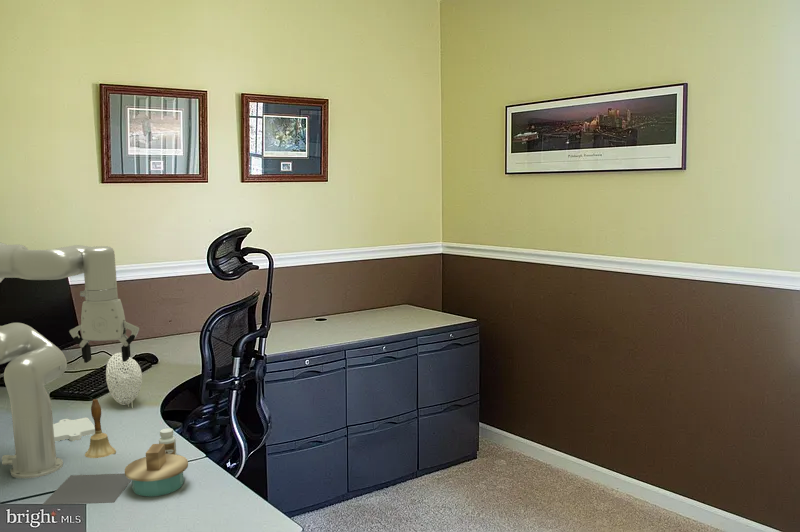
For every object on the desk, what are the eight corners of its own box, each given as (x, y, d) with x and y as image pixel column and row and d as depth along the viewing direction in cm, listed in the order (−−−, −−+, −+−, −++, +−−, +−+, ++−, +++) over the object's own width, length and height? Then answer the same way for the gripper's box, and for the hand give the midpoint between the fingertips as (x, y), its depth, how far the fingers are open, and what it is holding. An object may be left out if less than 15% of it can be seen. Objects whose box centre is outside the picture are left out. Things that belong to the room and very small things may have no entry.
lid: (116, 482, 179) (114, 461, 178) (135, 458, 194) (134, 438, 193) (179, 480, 180) (178, 458, 179) (194, 455, 195) (193, 436, 194)
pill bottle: (159, 461, 205) (157, 434, 204) (160, 455, 209) (158, 428, 208) (176, 459, 206) (174, 432, 205) (176, 453, 210) (175, 426, 209)
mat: (42, 506, 178) (41, 504, 178) (70, 477, 195) (70, 475, 195) (114, 504, 179) (114, 502, 179) (136, 474, 196) (136, 473, 196)
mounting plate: (99, 437, 225) (98, 430, 225) (52, 446, 218) (52, 440, 218) (85, 420, 240) (85, 415, 240) (41, 429, 233) (41, 423, 233)
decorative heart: (149, 408, 250) (146, 358, 248) (116, 415, 244) (112, 363, 242) (134, 395, 265) (131, 347, 262) (103, 401, 259) (99, 352, 256)
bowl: (126, 499, 182) (125, 479, 181) (141, 478, 193) (140, 460, 193) (176, 497, 182) (174, 477, 181) (188, 477, 194) (187, 458, 193)
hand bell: (105, 460, 206) (100, 404, 204) (78, 459, 208) (73, 403, 205) (121, 449, 214) (117, 395, 212) (95, 447, 216) (91, 394, 213)
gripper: (61, 298, 187) (66, 365, 189) (131, 296, 187) (136, 363, 190) (73, 293, 194) (78, 358, 196) (140, 291, 195) (145, 356, 197)
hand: (106, 360), depth 193 cm, fingers open, 9 cm apart
